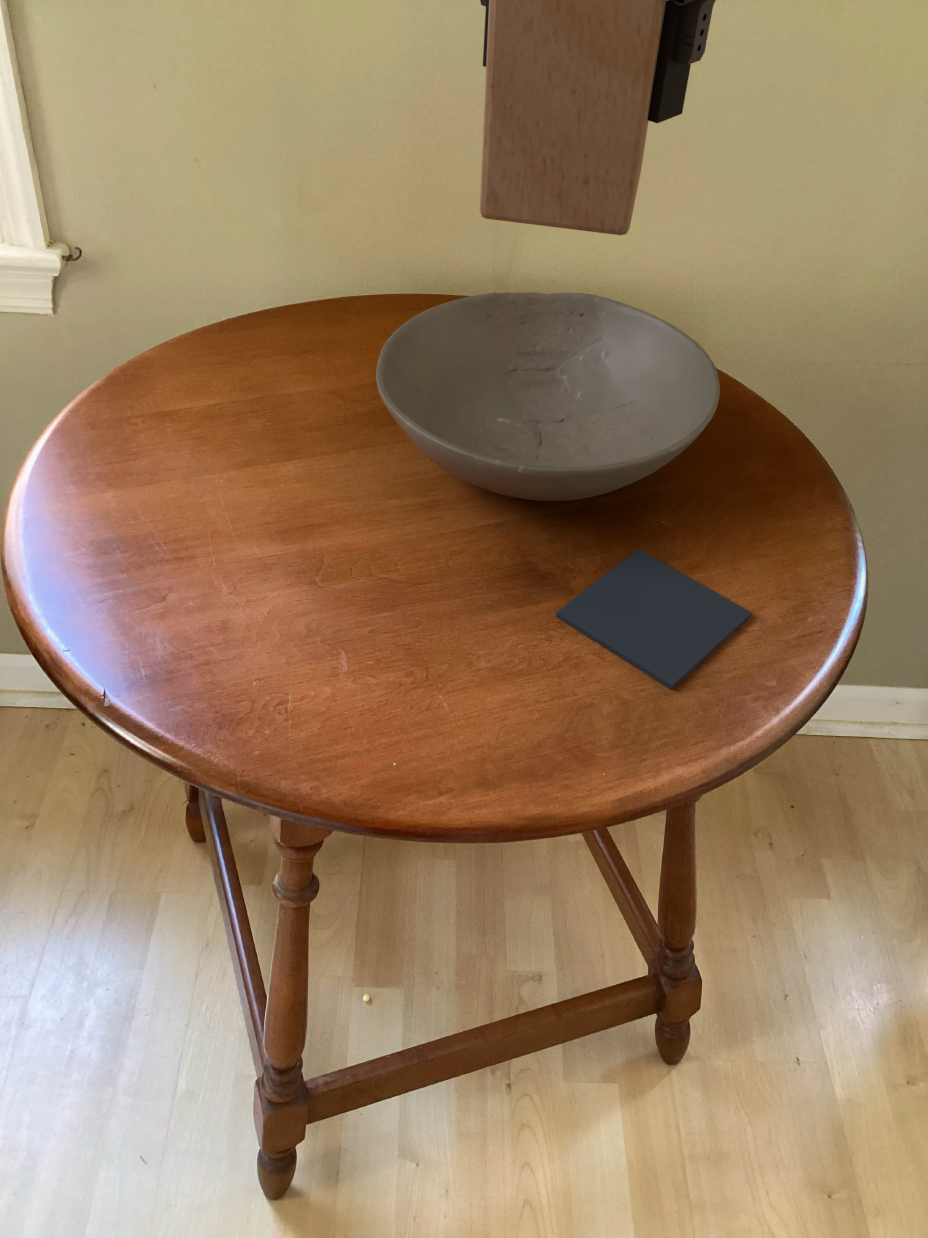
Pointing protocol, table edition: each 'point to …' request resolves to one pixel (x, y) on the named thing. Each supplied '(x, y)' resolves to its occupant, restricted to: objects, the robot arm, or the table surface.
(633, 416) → the bowl
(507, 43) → the wooden block
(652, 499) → the table surface
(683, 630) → the mat
